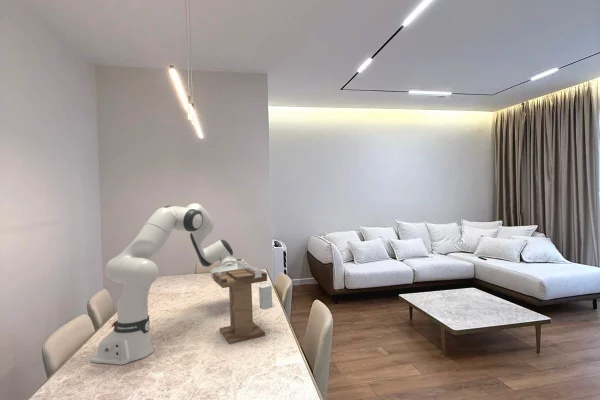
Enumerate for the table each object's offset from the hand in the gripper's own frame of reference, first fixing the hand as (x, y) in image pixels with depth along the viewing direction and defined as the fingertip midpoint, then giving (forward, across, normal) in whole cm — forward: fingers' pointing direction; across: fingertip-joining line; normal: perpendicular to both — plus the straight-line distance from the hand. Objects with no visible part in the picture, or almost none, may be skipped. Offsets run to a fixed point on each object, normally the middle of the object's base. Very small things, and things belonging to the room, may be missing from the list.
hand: (231, 276), depth 173 cm
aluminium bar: (+15, +7, -7) cm, 18 cm away
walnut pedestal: (+26, 0, +17) cm, 31 cm away
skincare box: (-6, +17, +24) cm, 30 cm away
